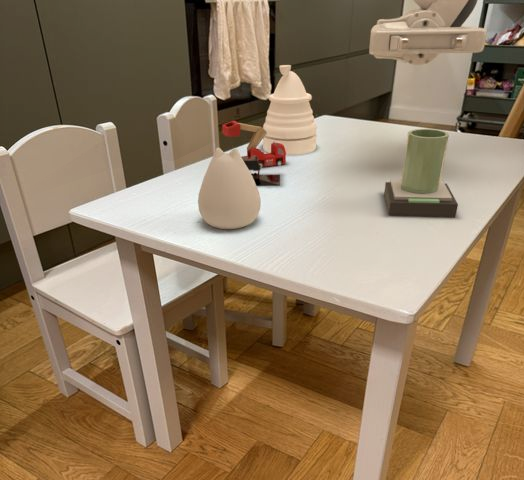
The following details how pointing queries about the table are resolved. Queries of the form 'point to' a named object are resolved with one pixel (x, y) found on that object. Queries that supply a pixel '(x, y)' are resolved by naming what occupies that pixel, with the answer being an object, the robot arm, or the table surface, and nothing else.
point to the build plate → (259, 179)
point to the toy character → (228, 192)
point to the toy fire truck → (265, 160)
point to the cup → (424, 160)
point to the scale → (419, 201)
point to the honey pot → (290, 116)
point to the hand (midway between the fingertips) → (431, 44)
